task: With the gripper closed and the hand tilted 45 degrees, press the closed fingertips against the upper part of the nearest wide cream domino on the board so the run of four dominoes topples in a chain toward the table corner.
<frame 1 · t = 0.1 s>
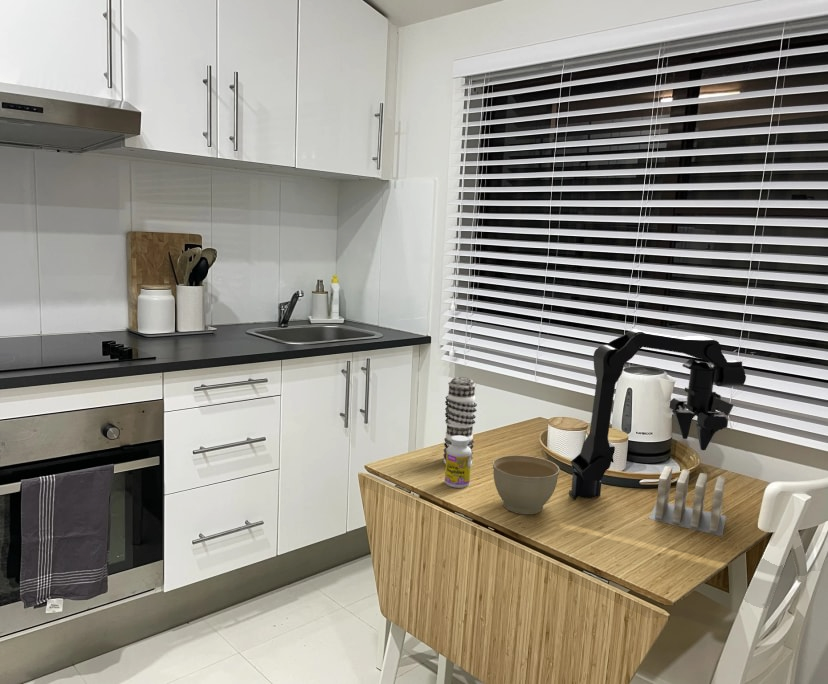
hand: (693, 444, 171), 15 cm above the table, tool pointing down, fingers open, 9 cm apart
planter bowl: (522, 508, 162), on the table
domino 4: (714, 523, 155), point 1 cm above the table, touching board
supplement bottle: (457, 484, 176), on the table
decorative candle: (457, 462, 193), on the table
domino 1: (661, 511, 161), point 1 cm above the table, touching board
domino 2: (679, 515, 159), point 1 cm above the table, touching board
domino 3: (696, 519, 157), point 1 cm above the table, touching board
board: (687, 521, 158), on the table
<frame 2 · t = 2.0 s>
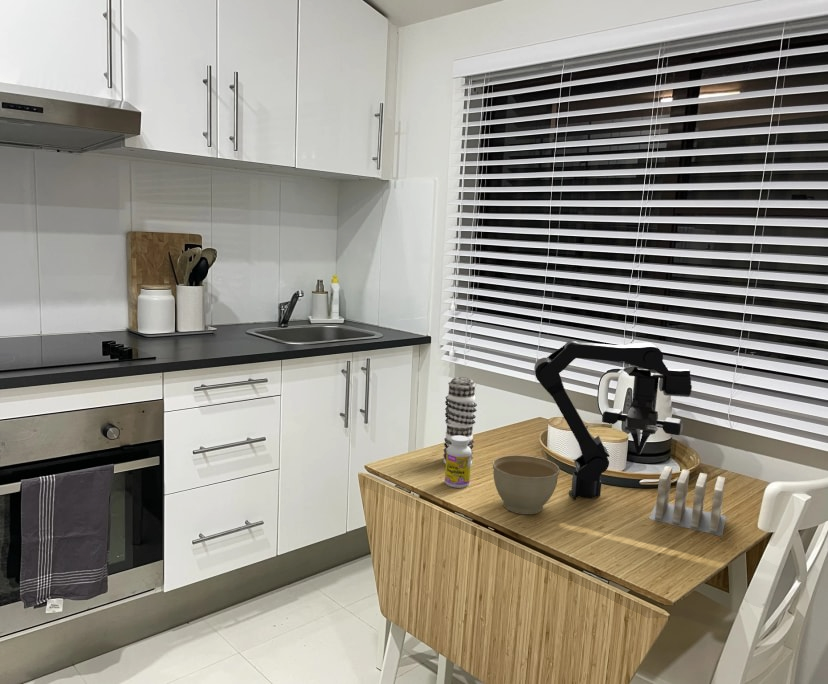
hand: (638, 453, 166), 13 cm above the table, tool pointing down, fingers closed
nothing on the table moved.
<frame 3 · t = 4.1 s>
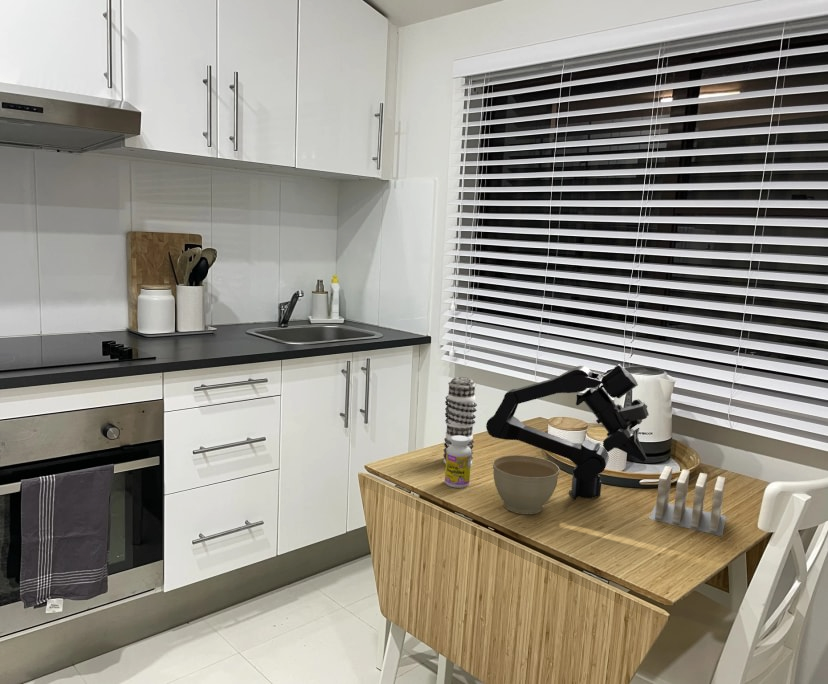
hand: (645, 460, 162), 13 cm above the table, tool tilted 45°, fingers closed
nothing on the table moved.
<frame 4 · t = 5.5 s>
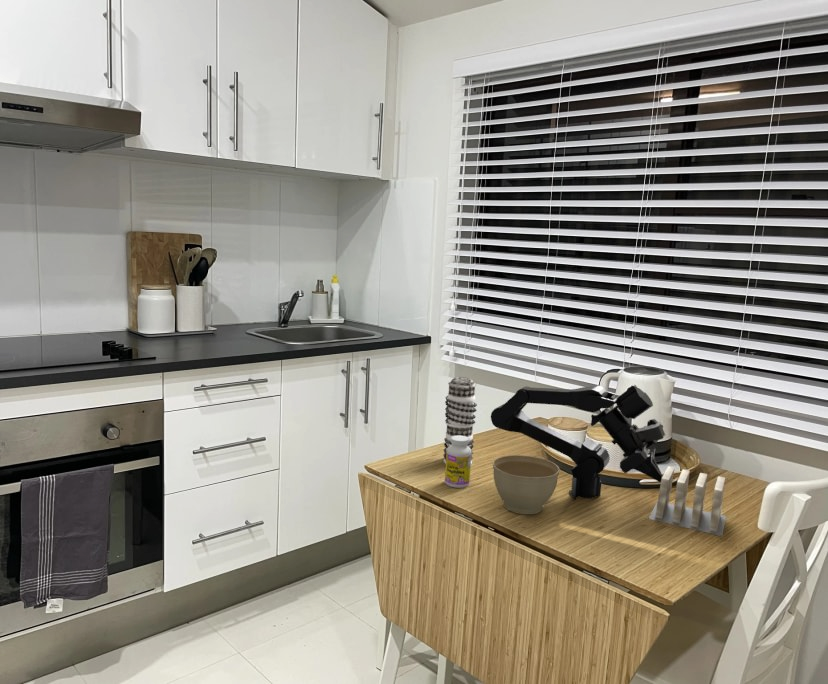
hand: (662, 480, 160), 9 cm above the table, tool tilted 45°, fingers closed, pressing on domino 1
domino 1: (661, 511, 161), point 1 cm above the table, touching board, gripper
everything else where it was.
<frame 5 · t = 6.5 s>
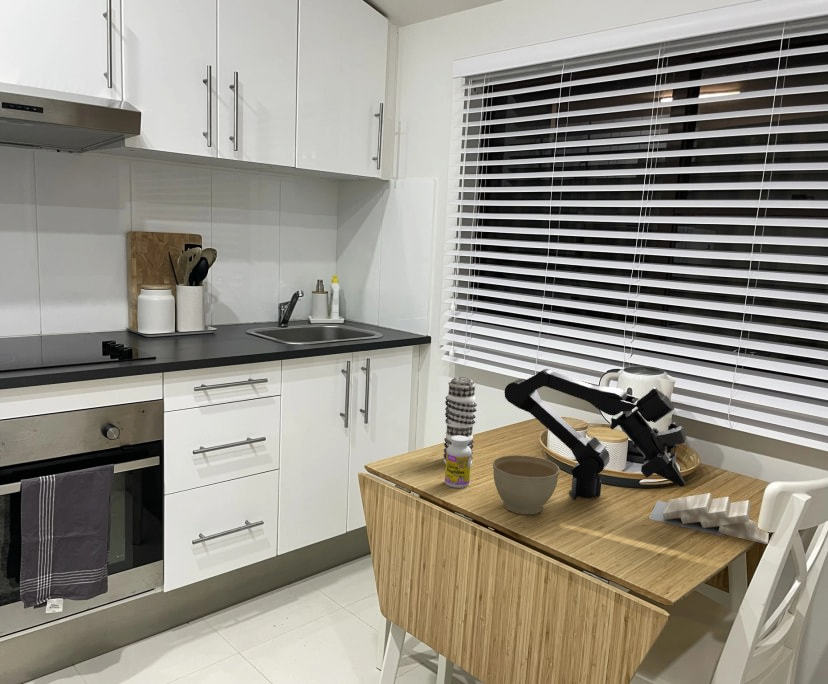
hand: (683, 485, 158), 9 cm above the table, tool tilted 45°, fingers closed
domino 4: (720, 521, 155), point 2 cm above the table, tilted 98°, touching board, domino 3
domino 1: (666, 509, 160), point 2 cm above the table, tilted 66°, touching board, domino 2
domino 2: (684, 513, 158), point 2 cm above the table, tilted 66°, touching board, domino 1, domino 3
domino 3: (703, 517, 156), point 2 cm above the table, tilted 66°, touching domino 2, domino 4
everything else where it was.
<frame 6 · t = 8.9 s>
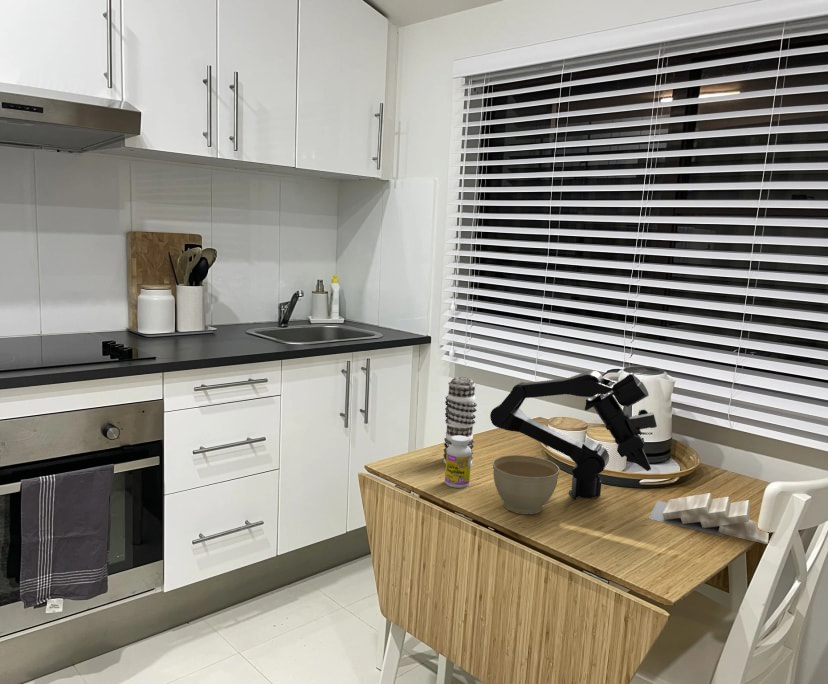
hand: (649, 469, 162), 11 cm above the table, tool tilted 40°, fingers closed
nothing on the table moved.
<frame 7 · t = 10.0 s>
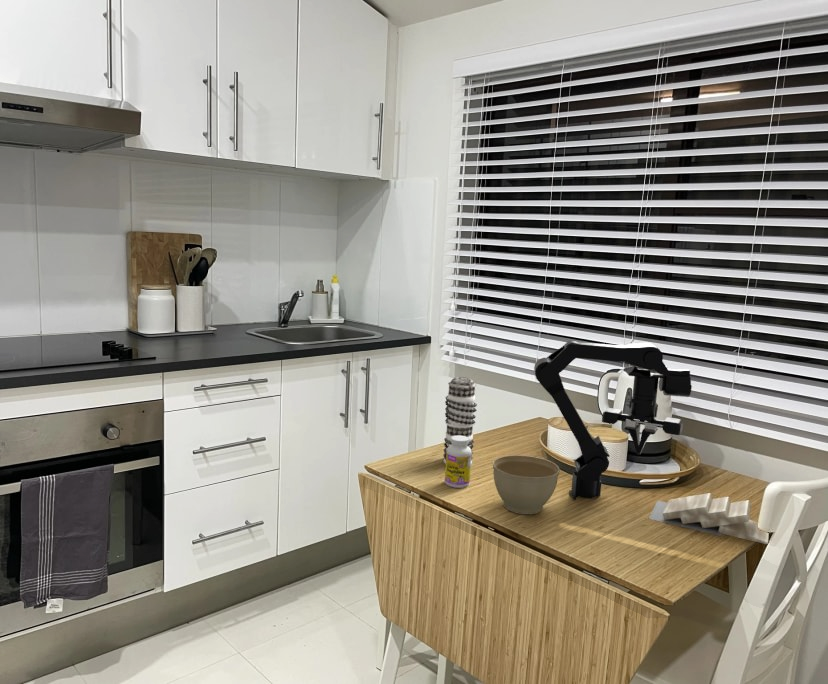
hand: (638, 453, 166), 13 cm above the table, tool pointing down, fingers closed
nothing on the table moved.
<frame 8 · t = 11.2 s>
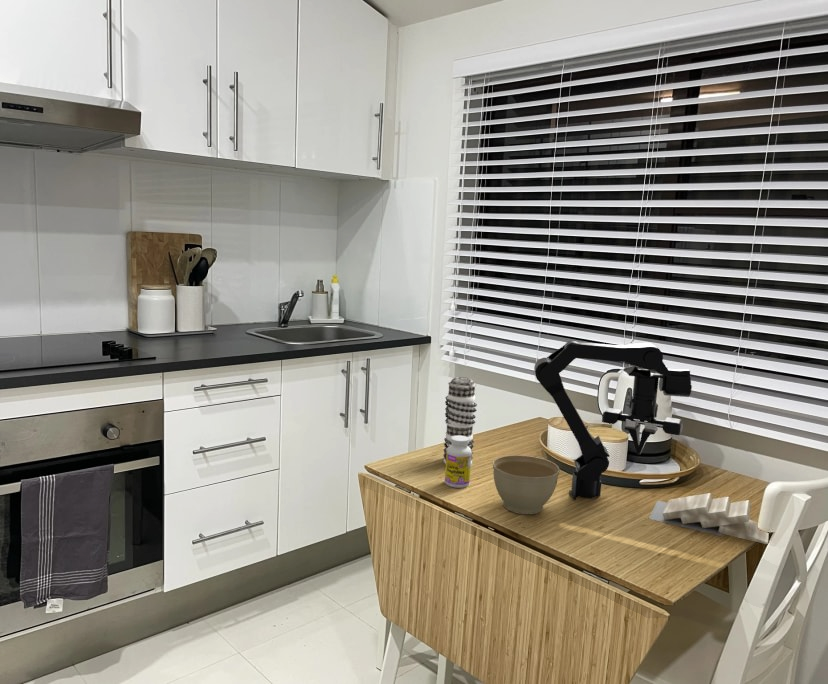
hand: (638, 453, 166), 13 cm above the table, tool pointing down, fingers closed
nothing on the table moved.
at the end: domino 4 tilted 98°; domino 1 tilted 66°; domino 4 inside the target area (1.0 cm from its centre), point 1.9 cm above the table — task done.
